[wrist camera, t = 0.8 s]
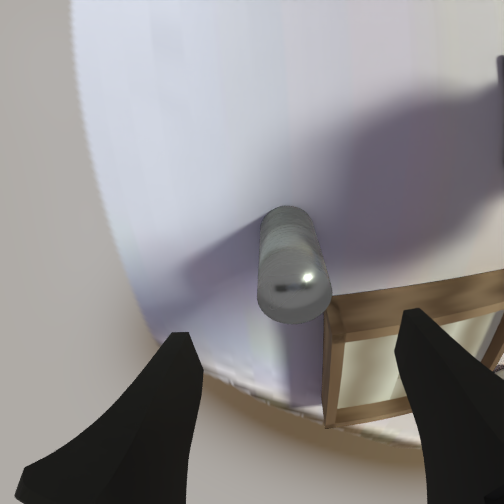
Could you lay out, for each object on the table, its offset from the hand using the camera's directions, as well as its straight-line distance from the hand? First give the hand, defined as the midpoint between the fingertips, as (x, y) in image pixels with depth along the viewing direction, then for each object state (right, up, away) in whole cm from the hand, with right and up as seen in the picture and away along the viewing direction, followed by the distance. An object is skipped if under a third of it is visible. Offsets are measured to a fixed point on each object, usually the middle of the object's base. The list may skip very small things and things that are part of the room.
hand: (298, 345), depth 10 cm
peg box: (+12, -4, +12) cm, 17 cm away
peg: (0, +4, +8) cm, 9 cm away
